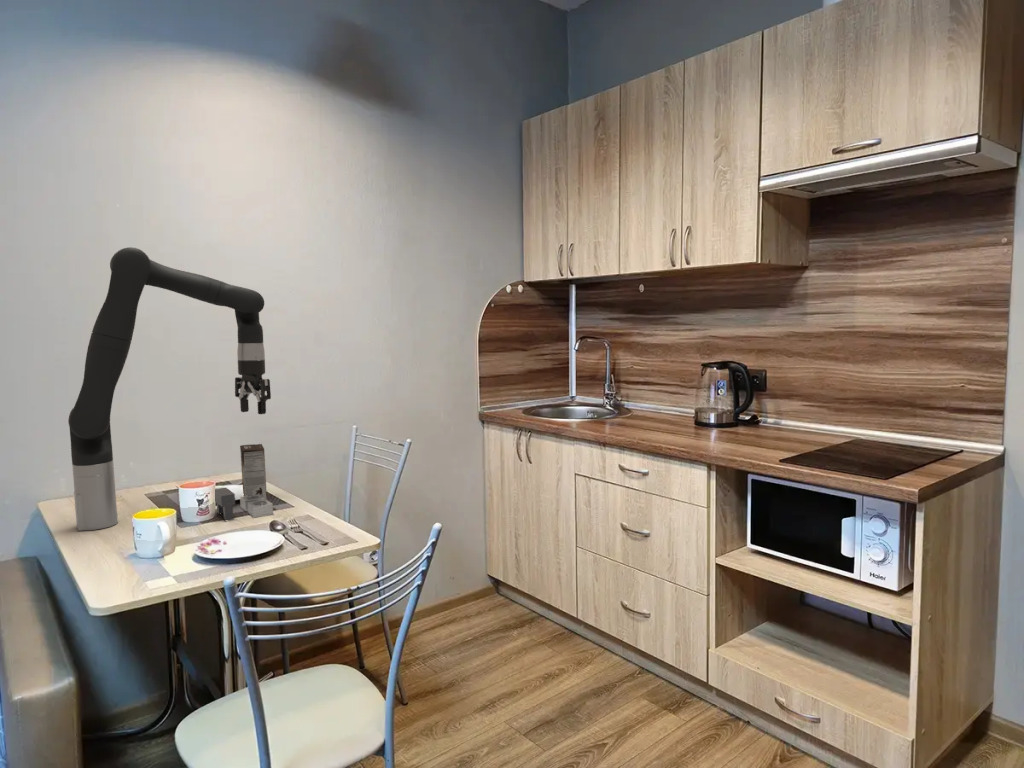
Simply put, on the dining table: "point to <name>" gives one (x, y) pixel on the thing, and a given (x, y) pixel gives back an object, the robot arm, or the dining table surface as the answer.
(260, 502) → the grey stone base block
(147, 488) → the dining table surface
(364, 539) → the dining table surface
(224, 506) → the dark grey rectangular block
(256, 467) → the coffee box
